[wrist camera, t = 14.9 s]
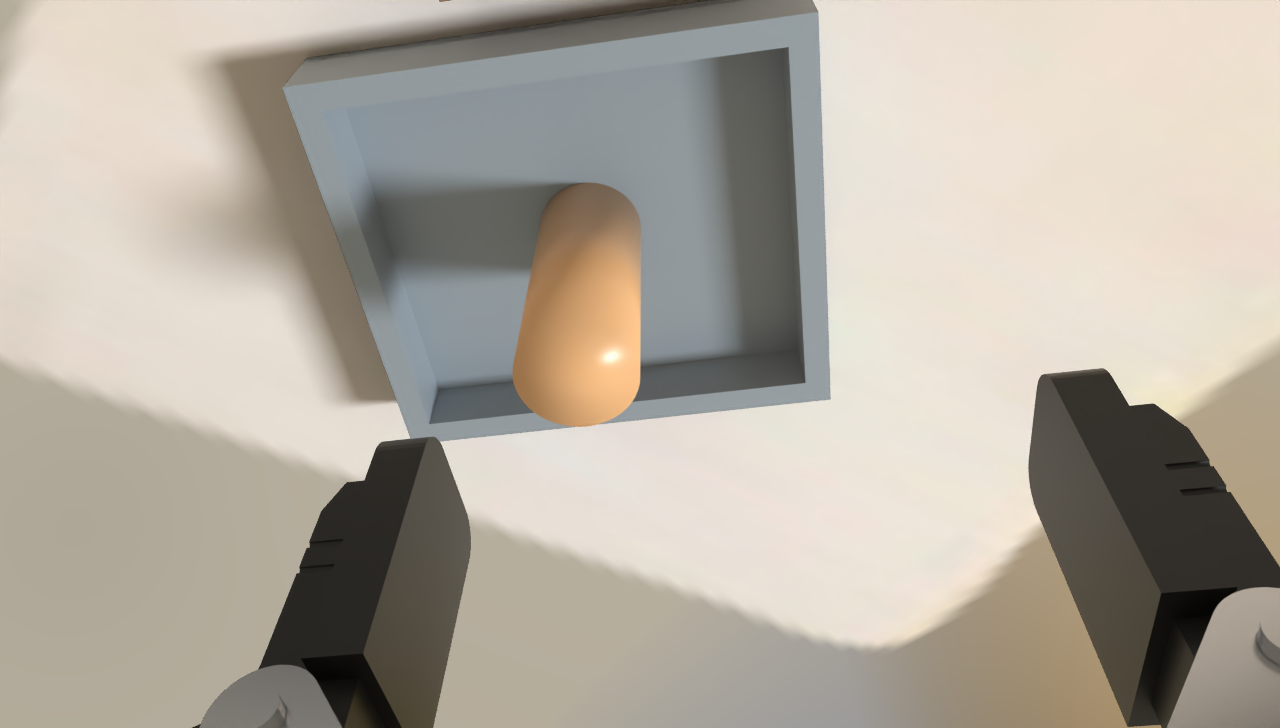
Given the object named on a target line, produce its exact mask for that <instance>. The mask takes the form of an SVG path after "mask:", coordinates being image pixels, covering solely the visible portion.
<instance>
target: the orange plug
mask: <svg viewBox="0 0 1280 728" xmlns="http://www.w3.org/2000/svg"><path fill="white" fill-rule="evenodd" d="M640 331H641V223H640V219H639V215H638V213H637V211H636V209H635V207H634V205H633V204H632V203H631V201H630V200H629V199H628V198H627V197H626V196H625V195H623V194H622V193H621V192H619V191H618V190H616V189H614V188H612V187H610V186H607V185H603V184H599V183H580V184H575V185H572V186H569V187H567V188H564V189H563V190H561V191H559V192H558V193H557V194H556V195H554V196H553V197H552V198H551V199H550V201H549V202H548V203H547V205H546V206H545V209H544V211H543V213H542V217H541V221H540V227H539V232H538V237H537V242H536V248H535V253H534V258H533V263H532V269H531V274H530V279H529V284H528V290H527V295H526V300H525V305H524V311H523V316H522V321H521V326H520V332H519V337H518V342H517V347H516V353H515V358H514V363H513V370H512V372H513V382H514V386H515V389H516V391H517V393H518V395H519V397H520V398H521V400H522V401H523V402H524V403H525V404H526V406H527V407H528V408H529V409H531V410H532V411H533V412H534V413H536V414H537V415H539V416H540V417H542V418H544V419H546V420H548V421H551V422H554V423H557V424H561V425H566V426H575V427H582V426H592V425H597V424H601V423H604V422H606V421H609V420H611V419H613V418H615V417H616V416H618V415H619V414H621V413H622V412H623V411H624V410H625V409H627V408H628V406H629V405H630V404H631V403H632V401H633V400H634V398H635V396H636V394H637V392H638V389H639V385H640Z"/></svg>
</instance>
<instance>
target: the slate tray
mask: <svg viewBox="0 0 1280 728" xmlns="http://www.w3.org/2000/svg"><path fill="white" fill-rule="evenodd" d="M282 89H283V91H284V94H285V97H286V100H287V102H288V105H289V108H290V111H291V113H292V116H293V119H294V121H295V124H296V127H297V130H298V132H299V135H300V138H301V141H302V143H303V146H304V149H305V151H306V154H307V157H308V160H309V162H310V165H311V168H312V171H313V173H314V176H315V179H316V182H317V184H318V187H319V190H320V192H321V195H322V198H323V201H324V203H325V206H326V209H327V212H328V214H329V217H330V220H331V222H332V225H333V228H334V231H335V233H336V236H337V239H338V242H339V244H340V247H341V250H342V252H343V255H344V258H345V261H346V263H347V266H348V269H349V272H350V274H351V277H352V280H353V282H354V285H355V288H356V291H357V293H358V296H359V299H360V302H361V304H362V307H363V310H364V312H365V315H366V318H367V321H368V323H369V326H370V329H371V332H372V334H373V337H374V340H375V343H376V345H377V348H378V351H379V353H380V356H381V359H382V362H383V364H384V367H385V370H386V373H387V375H388V378H389V381H390V383H391V386H392V389H393V392H394V394H395V397H396V400H397V403H398V405H399V408H400V411H401V413H402V416H403V419H404V422H405V424H406V427H407V430H408V433H409V435H410V438H411V439H414V438H423V437H436V438H437V439H438V440H439V441H449V440H458V439H467V438H476V437H486V436H495V435H504V434H513V433H523V432H532V431H541V430H551V429H560V428H569V427H575V426H566V425H561V424H557V423H554V422H551V421H548V420H546V419H544V418H542V417H540V416H539V415H537V414H536V413H534V412H533V411H532V410H531V409H529V408H528V407H527V406H526V404H525V403H524V402H523V401H522V400H521V398H520V397H519V395H518V393H517V391H516V389H515V386H514V382H513V372H512V370H513V363H514V358H515V353H516V347H517V342H518V337H519V332H520V326H521V321H522V316H523V311H524V305H525V300H526V295H527V290H528V284H529V279H530V274H531V269H532V263H533V258H534V253H535V248H536V242H537V237H538V232H539V227H540V221H541V217H542V213H543V211H544V209H545V206H546V205H547V203H548V202H549V201H550V199H551V198H552V197H553V196H554V195H556V194H557V193H558V192H559V191H561V190H563V189H564V188H567V187H569V186H572V185H575V184H580V183H599V184H603V185H607V186H610V187H612V188H614V189H616V190H618V191H619V192H621V193H622V194H623V195H625V196H626V197H627V198H628V199H629V200H630V201H631V203H632V204H633V205H634V207H635V209H636V211H637V213H638V215H639V219H640V223H641V331H640V385H639V389H638V392H637V394H636V396H635V398H634V400H633V401H632V403H631V404H630V405H629V406H628V408H627V409H625V410H624V411H623V412H622V413H621V414H619V415H618V416H616V417H615V418H613V419H611V420H609V421H606V422H604V423H601V424H606V423H615V422H625V421H634V420H643V419H652V418H662V417H671V416H680V415H690V414H699V413H708V412H717V411H727V410H736V409H745V408H754V407H764V406H773V405H782V404H792V403H801V402H810V401H819V400H829V399H831V398H830V367H829V335H828V304H827V272H826V240H825V209H824V177H823V146H822V114H821V83H820V51H819V20H818V10H817V8H816V6H815V4H814V2H813V0H708V1H701V2H694V3H687V4H680V5H673V6H666V7H659V8H652V9H645V10H638V11H632V12H625V13H618V14H611V15H604V16H597V17H590V18H583V19H576V20H569V21H562V22H555V23H548V24H541V25H534V26H527V27H520V28H513V29H506V30H499V31H492V32H485V33H478V34H471V35H464V36H457V37H450V38H443V39H436V40H429V41H422V42H415V43H408V44H401V45H394V46H388V47H381V48H374V49H367V50H360V51H353V52H346V53H339V54H332V55H325V56H318V57H311V58H307V59H306V60H305V61H304V62H303V63H302V65H301V66H300V67H299V68H298V69H297V70H296V72H295V73H294V74H293V75H292V76H291V78H290V79H289V80H288V81H287V82H286V84H285V85H284V86H283V87H282Z"/></svg>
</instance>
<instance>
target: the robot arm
mask: <svg viewBox="0 0 1280 728" xmlns="http://www.w3.org/2000/svg"><path fill="white" fill-rule="evenodd" d="M1029 481H1030V488H1031V493H1032V497H1033V501H1034V505H1035V508H1036V510H1037V513H1038V515H1039V517H1040V520H1041V522H1042V525H1043V527H1044V529H1045V532H1046V534H1047V536H1048V539H1049V541H1050V543H1051V546H1052V548H1053V551H1054V553H1055V555H1056V558H1057V560H1058V563H1059V565H1060V567H1061V570H1062V572H1063V574H1064V576H1065V579H1066V581H1067V584H1068V586H1069V588H1070V591H1071V593H1072V596H1073V598H1074V601H1075V603H1076V605H1077V608H1078V610H1079V612H1080V615H1081V617H1082V619H1083V622H1084V624H1085V627H1086V629H1087V631H1088V634H1089V636H1090V639H1091V641H1092V643H1093V646H1094V648H1095V650H1096V653H1097V655H1098V658H1099V660H1100V662H1101V665H1102V667H1103V669H1104V672H1105V674H1106V676H1107V679H1108V681H1109V683H1110V686H1111V688H1112V691H1113V693H1114V695H1115V698H1116V700H1117V703H1118V705H1119V707H1120V710H1121V712H1122V714H1123V717H1124V719H1125V721H1126V724H1127V726H1128V727H1132V726H1147V725H1161V727H1162V728H1280V567H1279V565H1278V564H1277V562H1276V561H1275V559H1274V558H1273V556H1272V555H1271V553H1270V552H1269V550H1268V548H1267V547H1266V545H1265V544H1264V542H1263V541H1262V540H1261V538H1260V537H1259V535H1258V533H1257V532H1256V530H1255V529H1254V527H1253V526H1252V524H1251V523H1250V521H1249V520H1248V518H1247V517H1246V515H1245V513H1244V512H1243V510H1242V509H1241V507H1240V506H1239V504H1238V503H1237V501H1236V500H1235V498H1234V497H1233V495H1232V494H1231V492H1227V490H1226V485H1225V483H1224V481H1223V480H1222V478H1221V477H1220V475H1219V474H1218V473H1217V471H1216V469H1215V468H1214V466H1210V464H1209V459H1208V457H1207V456H1206V454H1205V453H1204V451H1203V449H1202V448H1201V446H1200V445H1199V443H1198V442H1197V440H1196V439H1195V438H1194V436H1193V434H1192V433H1191V431H1190V430H1189V429H1188V428H1187V427H1186V426H1184V425H1183V424H1181V423H1180V422H1179V421H1177V420H1176V419H1175V418H1173V417H1172V416H1170V415H1169V414H1168V413H1166V412H1165V411H1163V410H1162V409H1161V408H1159V407H1158V406H1157V405H1155V404H1144V405H1134V406H1129V405H1128V403H1127V401H1126V400H1125V398H1124V396H1123V394H1122V393H1121V391H1120V389H1119V388H1118V386H1117V384H1116V383H1115V381H1114V379H1113V378H1112V376H1111V375H1110V373H1109V372H1108V371H1107V370H1105V369H1102V368H1100V369H1091V370H1081V371H1071V372H1062V373H1052V374H1044V375H1042V376H1041V377H1040V379H1039V381H1038V385H1037V392H1036V401H1035V410H1034V418H1033V427H1032V436H1031V445H1030V454H1029ZM470 550H471V536H470V526H469V520H468V516H467V513H466V510H465V507H464V504H463V501H462V499H461V496H460V493H459V491H458V488H457V485H456V483H455V480H454V477H453V474H452V472H451V469H450V466H449V464H448V461H447V458H446V456H445V453H444V450H443V448H442V445H441V443H440V442H439V440H438V439H437V438H436V437H423V438H414V439H404V440H395V441H385V442H381V443H380V444H379V445H378V446H377V448H376V450H375V453H374V456H373V458H372V461H371V464H370V467H369V469H368V472H367V475H366V478H365V481H356V482H347V483H346V484H345V485H344V486H343V487H342V488H341V490H340V491H339V492H338V493H337V494H336V495H335V496H334V497H333V499H332V500H331V501H330V502H329V503H328V504H327V505H326V507H325V508H324V509H323V510H322V511H321V514H320V516H319V519H318V521H317V524H316V526H315V529H314V531H313V534H312V536H311V539H310V548H307V549H306V551H305V554H304V556H303V559H302V561H301V564H300V573H297V574H296V577H295V579H294V582H293V584H292V587H291V589H290V592H289V594H288V597H287V599H286V602H285V604H284V607H283V609H282V612H281V615H280V617H279V619H278V622H277V624H276V627H275V630H274V632H273V635H272V637H271V640H270V642H269V645H268V647H267V650H266V652H265V655H264V657H263V660H262V663H261V665H260V667H259V669H258V670H256V671H254V672H251V673H249V674H247V675H246V676H244V677H242V678H240V679H239V680H237V681H236V682H235V683H233V684H232V685H230V686H229V687H228V688H227V689H226V690H224V691H223V692H222V693H221V694H220V695H219V696H218V698H217V699H216V700H215V701H214V702H213V704H212V705H211V706H210V708H209V709H208V711H207V712H206V714H205V716H204V718H203V720H202V723H201V724H200V725H198V726H195V727H193V728H433V725H434V721H435V716H436V711H437V706H438V702H439V697H440V693H441V688H442V683H443V679H444V674H445V670H446V665H447V660H448V656H449V651H450V647H451V642H452V637H453V633H454V628H455V623H456V619H457V613H458V609H459V605H460V600H461V595H462V591H463V586H464V581H465V577H466V572H467V568H468V563H469V558H470Z"/></svg>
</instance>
